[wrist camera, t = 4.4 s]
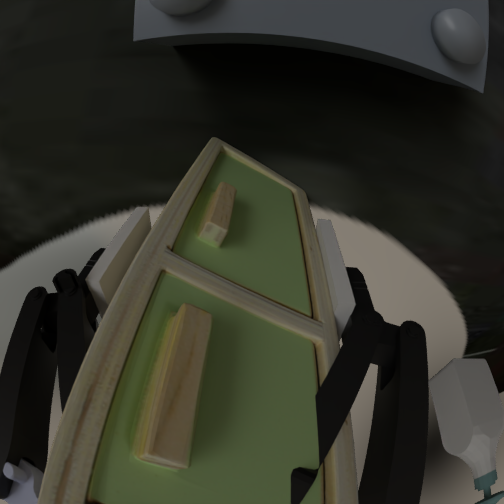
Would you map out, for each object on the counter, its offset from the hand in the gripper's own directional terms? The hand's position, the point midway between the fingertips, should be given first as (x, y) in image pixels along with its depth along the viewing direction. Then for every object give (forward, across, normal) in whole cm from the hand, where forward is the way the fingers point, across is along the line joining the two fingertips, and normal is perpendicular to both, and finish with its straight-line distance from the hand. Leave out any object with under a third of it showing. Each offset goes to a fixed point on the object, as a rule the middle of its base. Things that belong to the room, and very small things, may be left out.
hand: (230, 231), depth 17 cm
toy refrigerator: (+5, 0, 0) cm, 5 cm away
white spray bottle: (+5, +38, -26) cm, 47 cm away
